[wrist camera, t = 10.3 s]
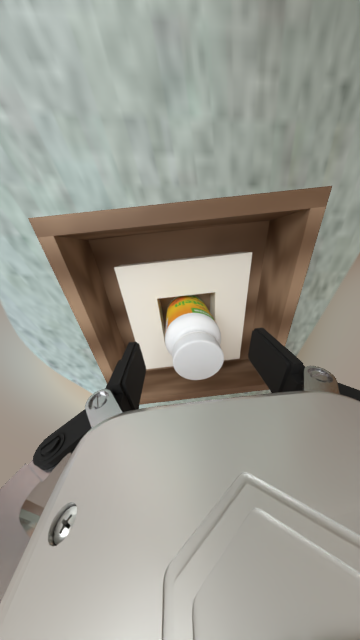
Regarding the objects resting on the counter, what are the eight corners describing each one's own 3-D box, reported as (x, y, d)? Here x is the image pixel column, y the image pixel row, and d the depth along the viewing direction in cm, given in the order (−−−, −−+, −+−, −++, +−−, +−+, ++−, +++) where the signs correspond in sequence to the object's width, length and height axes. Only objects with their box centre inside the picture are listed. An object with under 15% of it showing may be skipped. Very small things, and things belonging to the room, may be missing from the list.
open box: (77, 229, 15) (28, 218, 10) (276, 207, 16) (332, 185, 10) (129, 373, 25) (118, 406, 20) (251, 359, 25) (272, 389, 20)
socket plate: (121, 265, 16) (114, 267, 14) (241, 251, 16) (252, 252, 14) (146, 357, 23) (143, 369, 20) (232, 347, 23) (239, 358, 20)
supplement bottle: (207, 292, 18) (240, 330, 10) (204, 328, 21) (228, 384, 12) (165, 293, 18) (161, 333, 9) (167, 329, 20) (164, 388, 12)
